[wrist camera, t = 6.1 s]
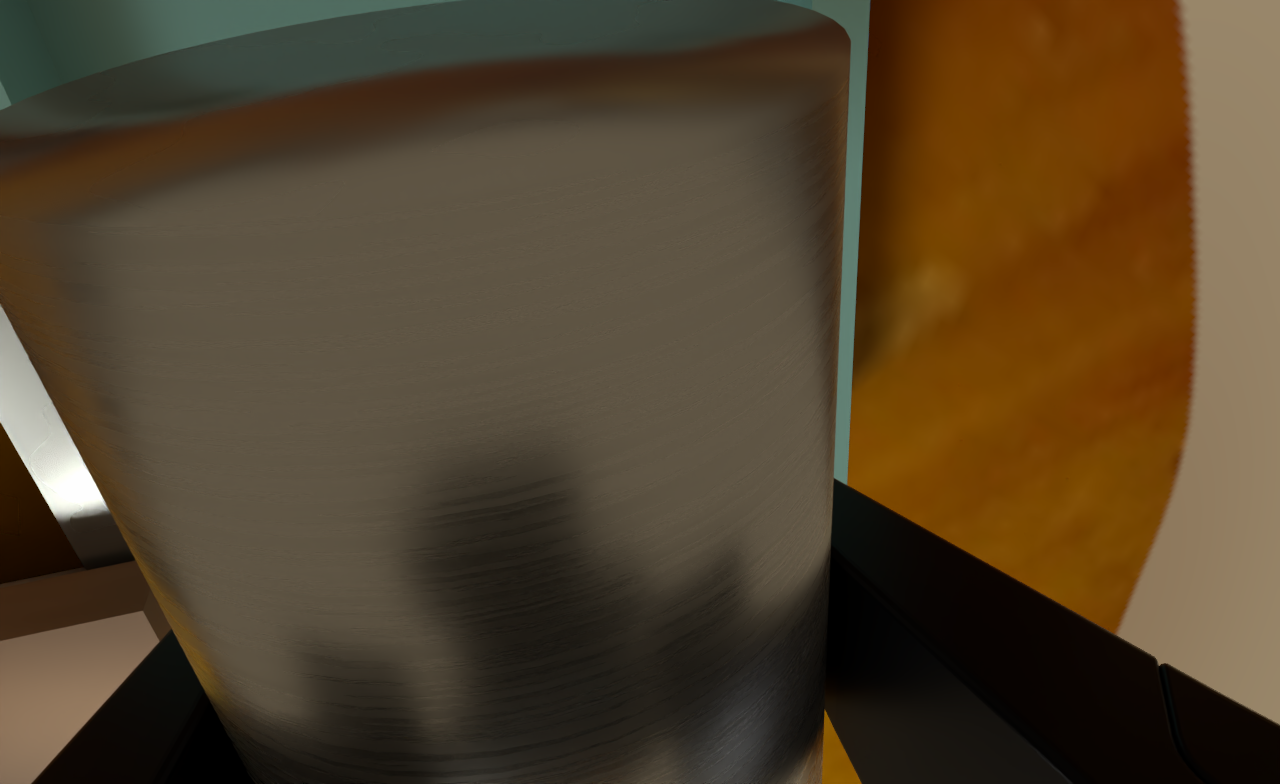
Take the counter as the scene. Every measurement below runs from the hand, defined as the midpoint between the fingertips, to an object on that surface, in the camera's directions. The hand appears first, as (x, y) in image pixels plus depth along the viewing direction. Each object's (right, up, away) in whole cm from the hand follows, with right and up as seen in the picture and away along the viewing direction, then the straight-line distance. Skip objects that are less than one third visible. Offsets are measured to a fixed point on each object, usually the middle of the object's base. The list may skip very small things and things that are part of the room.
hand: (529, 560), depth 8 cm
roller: (0, -1, -1) cm, 1 cm away
